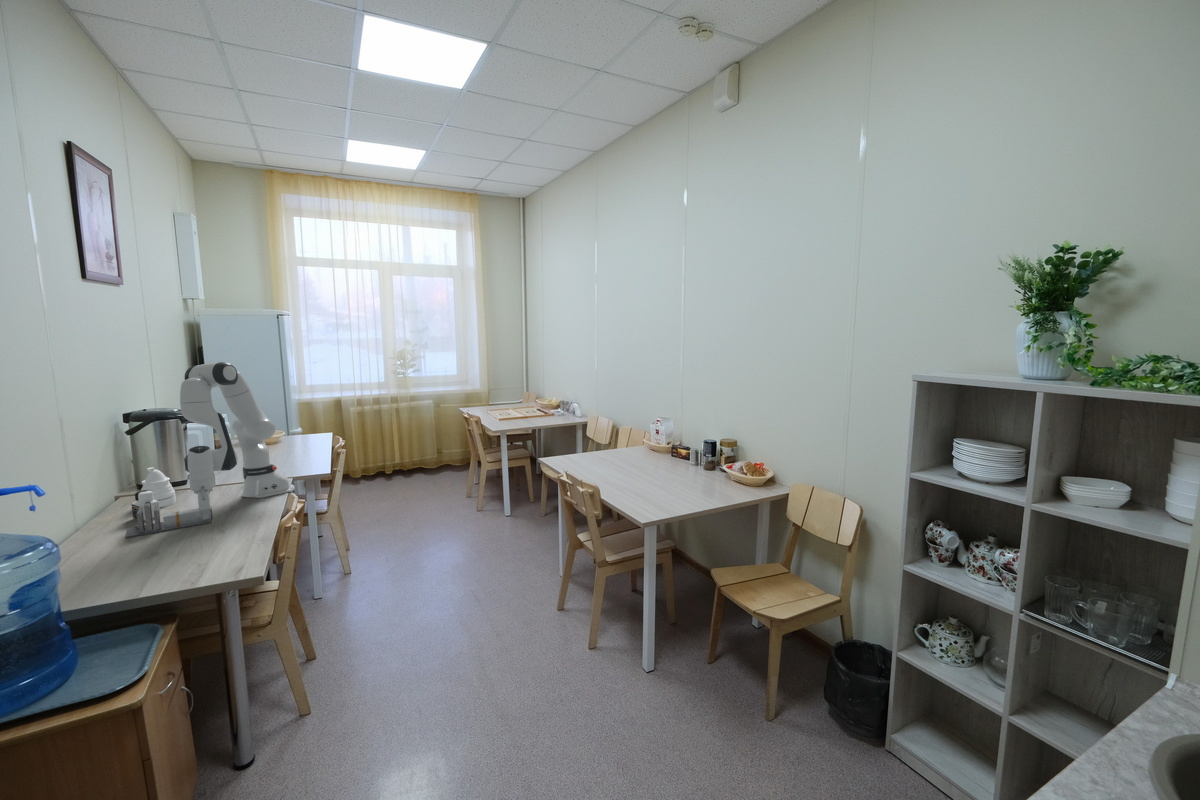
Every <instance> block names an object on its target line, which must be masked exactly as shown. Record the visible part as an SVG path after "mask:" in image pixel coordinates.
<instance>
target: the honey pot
mask: <svg viewBox="0 0 1200 800" xmlns="http://www.w3.org/2000/svg"><path fill="white" fill-rule="evenodd" d="M146 470H147V472H149V473H148V474H147V475H146V478H145V479H144V480H142V481H141V484H142V488H141V489H140V491H143V490H152V491H153V493H154V500H157V501H159V507H160V508H164V507H168V506H171V505H173V504H175V503H176V502H177V499H176V498H177V496H176V491H175V489H174V487H173V486H172V483H170V480H171V478H170V477H168V476H166V475H165V474H164V473H163V472H162V471H160V470H159V469H155V467H154V466H153V467H152V466H151V467H148V468H147V467H146Z"/></svg>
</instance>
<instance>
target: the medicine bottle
mask: <svg viewBox="0 0 1200 800" xmlns="http://www.w3.org/2000/svg"><path fill="white" fill-rule="evenodd" d="M134 498H135V499H134V500H135V501H134V502H132V503H131V512H132V518H133V520H136V521H138V519H137V512H138V508H139V507H143V514H144V522H146V520H145V512H144V504H145V500H151V507H152V516H153V519H154V506H155V505H158V504H159V501H157V500H154V493H153V491H152V490H143V491H141V490H139V491H137V492H135V493H134ZM159 513H160V514H161V507H159Z"/></svg>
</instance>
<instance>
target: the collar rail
mask: <svg viewBox="0 0 1200 800" xmlns="http://www.w3.org/2000/svg"><path fill="white" fill-rule="evenodd" d="M144 512H145V521H144V514H143V507H139V508H138V512H137V519H138V520H137V525H136V526H130V527H128V528H127V532H126V535H125V539H129V538H136V537H140V536H146V535H152V534H157V533H163V532H164V533H165V532H169V531H175V530H179V529H185V528H191V527H197V526H202V525H207V524H208V525H209V524H212V523H213V522H212V519H209V520H203V521H197V522H191V523H186V524H180V525H174V526H169V527H164V521H161V512H160V513H159V504H158V505H155V506H154V518H153V516H152V507H151V500H145V504H144Z"/></svg>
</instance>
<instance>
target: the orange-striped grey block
mask: <svg viewBox="0 0 1200 800" xmlns="http://www.w3.org/2000/svg"><path fill="white" fill-rule="evenodd" d="M213 517H214V516H213V508H212V506H211V505H210V510H208V518H207V519H203V515H202V511H199V507H198V508H192V509H186V510H180V511H173V512H168V513H164V514H163V515H162V519H163V522H164V527H169V526H174V525H180V524H186V523H191V522H197V521H203V520H209V519H211V520H213Z"/></svg>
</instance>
